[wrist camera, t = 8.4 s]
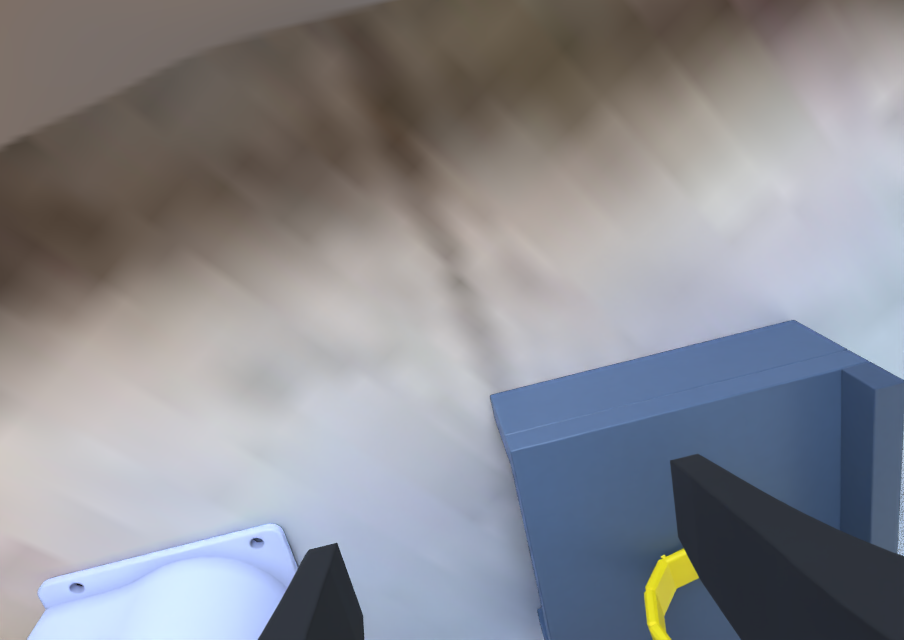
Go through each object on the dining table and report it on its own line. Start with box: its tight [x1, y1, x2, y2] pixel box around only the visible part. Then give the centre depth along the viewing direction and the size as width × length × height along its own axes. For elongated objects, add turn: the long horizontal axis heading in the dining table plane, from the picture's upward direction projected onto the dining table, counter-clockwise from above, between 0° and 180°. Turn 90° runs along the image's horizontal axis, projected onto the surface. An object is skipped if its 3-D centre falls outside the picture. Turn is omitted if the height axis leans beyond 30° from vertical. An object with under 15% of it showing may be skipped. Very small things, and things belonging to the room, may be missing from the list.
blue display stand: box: [490, 320, 904, 640], centre depth 23 cm, size 12×12×6 cm
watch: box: [644, 548, 699, 640], centre depth 19 cm, size 6×3×6 cm, turn 111°
